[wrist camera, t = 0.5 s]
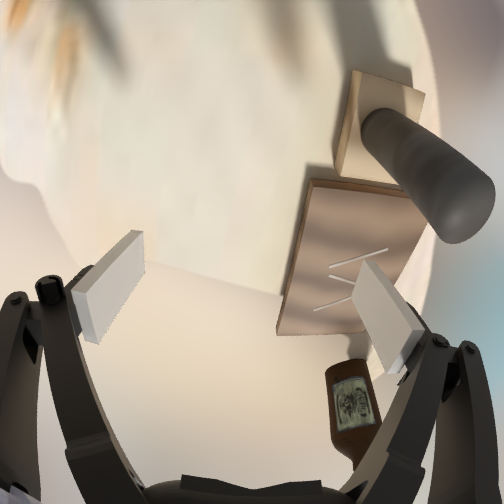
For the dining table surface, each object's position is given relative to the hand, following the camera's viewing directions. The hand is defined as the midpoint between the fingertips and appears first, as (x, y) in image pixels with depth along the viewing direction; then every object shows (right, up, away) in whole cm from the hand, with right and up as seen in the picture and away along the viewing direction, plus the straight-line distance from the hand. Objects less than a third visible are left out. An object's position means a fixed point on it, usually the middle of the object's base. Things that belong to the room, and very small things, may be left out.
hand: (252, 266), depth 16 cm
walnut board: (+11, -2, +17) cm, 20 cm away
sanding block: (+10, +12, +4) cm, 16 cm away
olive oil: (+20, -24, +38) cm, 49 cm away
